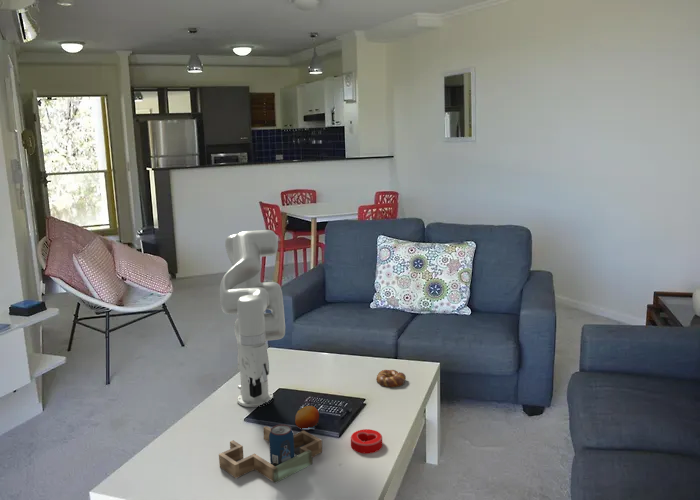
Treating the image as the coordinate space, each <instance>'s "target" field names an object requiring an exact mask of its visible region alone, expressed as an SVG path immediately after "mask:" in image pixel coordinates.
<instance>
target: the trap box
mask: <svg viewBox="0 0 700 500" xmlns="http://www.w3.org/2000/svg"><path fill="white" fill-rule="evenodd" d="M271 428H272V427H270V426H267V425H265V426H263V427H262V430H263V439H264V440H265V441H267V442H268V443H269V434H270V432H271ZM293 435H294V454H295V457H293V458H291V459H289V460H287V461H285V462H283V463H281V464H279V465H277V466H274V465H272V464H271V463H270V462H269V461H267V460H265V459H264V458H262V457H261V456H259V455H257V453H252V454H250V455H249V456H246V457H244V446H243V444H242V445H241V444H240V443H239V442H237V441H235V440H231V441H229V448H230V449H228V450H226V451H223V452H221V453H219V454H218V460H219V461H218V462H219V468H221V469H222V470H223V471H225V472H227V474H229V475H230V476H232V477H234V478H235V479H238V478H239V477H242V476H244V475H246V474H247V473H249V472H253V471H254V470H255V471H256V472H257V473H259V474H261V475H262V476H264V477H265V478H267V479H268V480H270V481H271V482H273V483H275V484H276V483H278V482H280V481H281V480H283V479H285V478H287V477H289V476H292V475H294V474H295V473H297V472H299V471H301V470H303V469H305V468H306V467H309V466H311V465H312V464H313V457H315V456H317V455H318V454H322V452H323V442H322V439H321V438H319V437H317V436H315V435H314V434H311V433H309V432H308V431H306V430H301V431H299V432H297V433H295V434H293Z"/></svg>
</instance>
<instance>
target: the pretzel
mask: <svg viewBox="0 0 700 500" xmlns="http://www.w3.org/2000/svg"><path fill="white" fill-rule="evenodd" d="M406 378H407V377H406V374H405V373H403V372H399V371H397V370H396V369H383V370H381V371H379V372H378V374H377V375H376V382H377V383H378V384H379V385H380V386H381V387H388V388H397V387H401V386H403V385H405V381H406Z"/></svg>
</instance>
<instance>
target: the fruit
mask: <svg viewBox="0 0 700 500" xmlns="http://www.w3.org/2000/svg"><path fill="white" fill-rule="evenodd" d="M294 419H295V421H294V423H295V425H296V427H297V428H298V429H300V428H301V429H302V428H308V427H313V426H315V425H316V426H318V424H319V420H320V413H319V410H318V409H317V408H316V407H315V406H313V405H305V406H303V407H301V408H300V409H298V410H297V412H296V413H295V417H294ZM317 423H318V424H317ZM301 429H300V430H301Z"/></svg>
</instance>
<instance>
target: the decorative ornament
mask: <svg viewBox="0 0 700 500" xmlns="http://www.w3.org/2000/svg"><path fill="white" fill-rule="evenodd" d="M350 448H351V449H352V451H355V452H356V453H358V454H359V453H360V454H365V455H366V454H373V453H377V452H380V450H382V448H383V436H382V434H381V433H380V432H379V431H377V430H374V429H364V428H363V429H360V430H356V431H354V432H353V433H352V434H351V436H350Z"/></svg>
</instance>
